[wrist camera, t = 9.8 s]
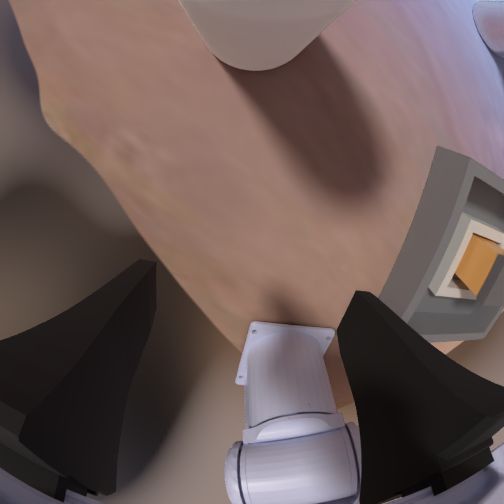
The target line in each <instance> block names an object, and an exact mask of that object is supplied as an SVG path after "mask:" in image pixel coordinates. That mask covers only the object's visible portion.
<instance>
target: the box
mask: <svg viewBox="0 0 504 504" xmlns="http://www.w3.org/2000/svg"><path fill="white" fill-rule="evenodd" d="M473 233H476V234H478V235H481V236H483V237H486V238H488V239H491V240H492V241H494V242H495V243H496V244H497V245H499V246H500V247H501V248H502V249H503V250H504V180H503V179H502V178H500V177H499V176H498V175H496V174H495V173H493V172H492V171H490V170H489V169H487V168H486V167H484V166H483V165H481V164H480V163H478V162H477V161H475V160H474V159H472V158H470V157H468V156H465V155H462V154H460V153H457V152H454V151H451V150H448V149H445V148H442V147H439V146H437V149H436V152H435V156H434V159H433V163H432V166H431V170H430V173H429V176H428V179H427V182H426V185H425V189H424V192H423V194H422V197H421V200H420V203H419V206H418V209H417V211H416V214H415V217H414V219H413V222H412V225H411V227H410V230H409V232H408V235H407V237H406V239H405V242H404V244H403V247H402V249H401V251H400V254H399V256H398V258H397V260H396V263H395V265H394V267H393V269H392V271H391V273H390V276H389V278H388V280H387V282H386V284H385V286H384V288H383V290H382V292H381V294H380V296H379V298H378V299H380V300H381V301H382V302H383V303H384V304H386V305H387V306H388V307H389V308H390V309H391V310H392V311H393V312H395V313H396V314H397V315H398V316H399V317H400V318H401V319H402V320H404V321H405V322H406V323H407V324H408V325H409V326H410V327H411V328H412V329H414V330H415V331H416V332H417V333H418V334H419V335H421V336H422V337H423V338H424V339H425V340H427V341H428V342H446V341H462V340H473V339H483V338H484V337H485V336H486V334H487V333H488V331H489V330H490V329H491V327H492V326H493V324H494V323H495V321H496V320H497V318H498V317H499V315H500V313H501V312H502V310H503V309H504V307H501V306H482V305H481V304H480V303H479V301H478V300H477V299H476V296H475V295H474V293H473V292H472V291H471V290H470V289H469V288H468V287H467V286H466V285H465V284H464V282H463V281H462V280H461V279H460V278H459V277H458V276H457V275H456V274H455V271H456V269H457V267H458V265H459V263H460V261H461V259H462V257H463V255H464V252H465V250H466V248H467V246H468V244H469V241H470V239H471V237H472V234H473Z"/></svg>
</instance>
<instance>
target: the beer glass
mask: <svg viewBox="0 0 504 504" xmlns="http://www.w3.org/2000/svg"><path fill="white" fill-rule="evenodd" d="M473 17H474V21H475V24H476V27H477V29H478V31H479V33H480V35H481V37H482V39H483V40H484V42H485V43H486V45H487V46H488V47H489V48H490V50H491V51H492V52H493V53H495V54H496V55H497V56H499V57H502V58H504V1H489V0H479V1H477V2H475V3H474V5H473Z"/></svg>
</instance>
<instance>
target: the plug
mask: <svg viewBox="0 0 504 504" xmlns="http://www.w3.org/2000/svg"><path fill="white" fill-rule="evenodd" d="M455 274H456V275H457V276H458V277H459V278H460V279H461V280H462V281H463V282H464V284H465V285H466V286H467V287H468V288H469V289H470V290H471V291H472V292H473V293H474V295H475V296H476V299H477V300H478V301H479V303H480V304H481V305H482V306H501V307H504V250H503V249H502V248H501V247H500V246H499V245H497V244H496V243H495V242H494V241H492V240H491V239H488V238H486V237H483V236H481V235H478V234H476V233H473V234H472V237H471V239H470V241H469V244H468V246H467V248H466V250H465V252H464V255H463V257H462V259H461V261H460V263H459V265H458V267H457V269H456V271H455Z"/></svg>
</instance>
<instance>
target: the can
mask: <svg viewBox="0 0 504 504" xmlns="http://www.w3.org/2000/svg"><path fill="white" fill-rule="evenodd" d="M178 1H179V3H180V4H181V6H182V7H183V9H184V11H185V12H186V14H187V15H188V17H189V18H190V20H191V22H192V23H193V25H194V26H195V28H196V30H197V31H198V33H199V34H200V36H201V38H202V39H203V41H204V42H205V44H206V45H207V47H208V48H209V50H210V51H211V52H212V53H213V54H214V55H215V56H216V57H217V58H218V59H220V60H221V61H223V62H224V63H226V64H228V65H230V66H233V67H235V68H239V69H243V70H250V71H262V70H269V69H273V68H276V67H279V66H281V65H283V64H285V63H287V62H289V61H290V60H292V59H293V58H294V57H295V56H297V55H298V54H299V53H300V52H301V51H302V50H303V49H304V48H305V47H306V46H307V45H308V44H309V43H311V42H312V41H313V40H314V39H315V38H316V37H317V36H318V35H319V34H320V33H321V32H322V31H324V30H325V29H326V28H327V27H328V26H329V25H330V24H331V23H332V22H334V21H335V20H336V19H337V18H338V17H339V16H340V15H342V14H343V13H344V12H345V11H346V10H347V9H348V8H350V7H351V6H352V5H353V4H354V3H355V2H356V1H357V0H178Z"/></svg>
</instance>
